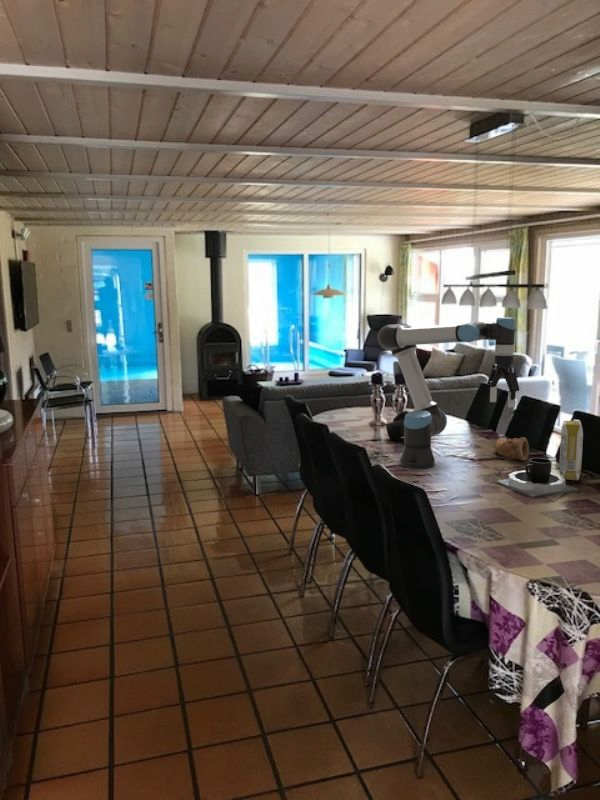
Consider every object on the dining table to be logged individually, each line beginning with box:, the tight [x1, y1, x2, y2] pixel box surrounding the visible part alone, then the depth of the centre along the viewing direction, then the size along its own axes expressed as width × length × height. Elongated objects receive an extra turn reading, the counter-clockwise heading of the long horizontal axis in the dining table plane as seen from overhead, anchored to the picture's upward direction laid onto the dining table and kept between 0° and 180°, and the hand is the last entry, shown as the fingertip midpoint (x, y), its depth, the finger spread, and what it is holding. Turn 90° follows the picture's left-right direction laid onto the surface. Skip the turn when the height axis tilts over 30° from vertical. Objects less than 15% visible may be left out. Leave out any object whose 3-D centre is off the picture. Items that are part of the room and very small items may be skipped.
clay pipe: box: [493, 436, 530, 462], centre depth 289 cm, size 19×11×15 cm
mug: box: [524, 457, 553, 484], centre depth 244 cm, size 8×12×10 cm
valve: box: [385, 410, 410, 441], centre depth 322 cm, size 22×15×30 cm
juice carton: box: [559, 419, 584, 481], centre depth 255 cm, size 9×8×24 cm
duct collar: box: [496, 469, 579, 499], centre depth 245 cm, size 21×21×4 cm
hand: (501, 404), depth 268 cm, fingers open, 13 cm apart
